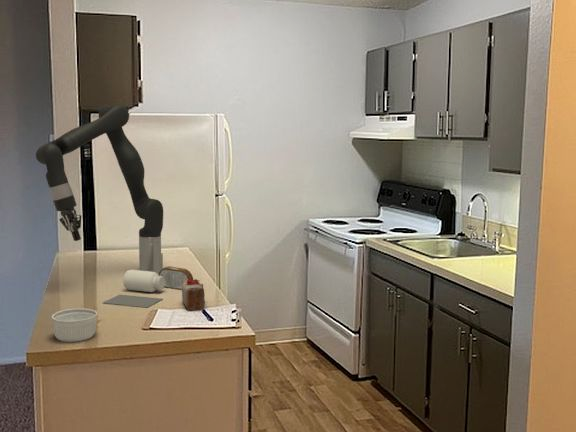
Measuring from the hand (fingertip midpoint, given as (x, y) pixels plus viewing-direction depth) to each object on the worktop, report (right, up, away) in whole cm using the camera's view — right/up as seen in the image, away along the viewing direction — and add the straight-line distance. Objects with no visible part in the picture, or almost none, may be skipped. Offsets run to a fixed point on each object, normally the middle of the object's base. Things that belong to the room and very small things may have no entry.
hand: (77, 240), depth 240 cm
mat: (+23, -22, -8) cm, 33 cm away
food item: (+46, -23, -12) cm, 53 cm away
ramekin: (+15, -28, -47) cm, 57 cm away
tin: (+35, -20, +12) cm, 42 cm away
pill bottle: (+17, -16, +9) cm, 25 cm away
